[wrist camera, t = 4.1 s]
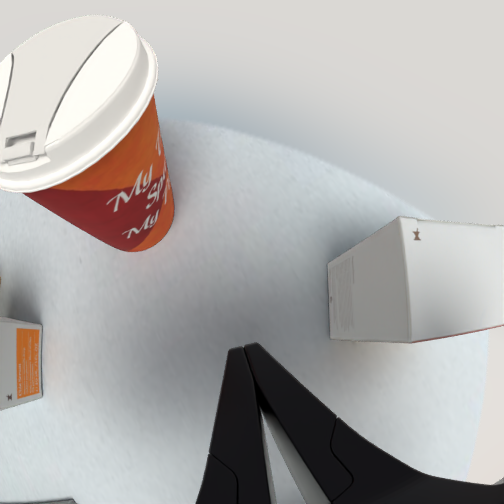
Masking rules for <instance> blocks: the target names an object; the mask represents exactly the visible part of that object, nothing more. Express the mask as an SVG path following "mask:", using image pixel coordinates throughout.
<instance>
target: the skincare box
mask: <svg viewBox="0 0 504 504" xmlns="http://www.w3.org/2000/svg"><path fill="white" fill-rule="evenodd" d="M41 340H42V325H40V324H35V323H30V322H25V321H20V320H16V319H11V318H7V317H1V316H0V411H1V410H4V409H8V408H11V407H15V406H18V405H21V404H25V403H28V402H31V401H34V400H37V399H41V398H42V389H41Z"/></svg>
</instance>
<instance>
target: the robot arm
mask: <svg viewBox="0 0 504 504" xmlns="http://www.w3.org/2000/svg"><path fill="white" fill-rule="evenodd" d="M261 412H262V414H263V417H264V419H265V421H266V423H267V425H268V427H269V430H270V432H271V434H272V436H273V438H274V440H275V442H276V444H277V446H278V448H279V450H280V452H281V454H282V456H283V459H284V461H285V463H286V465H287V467H288V469H289V471H290V473H291V475H292V477H293V478H294V480H295V482H296V484H297V486H298V488H299V490H300V492H301V494H302V496H303V498H304V500H305V502H306V504H504V478H502V479H501V480H499V481H498V482H496V483H495V484H493V485H484V484H477V483H470V482H463V481H457V480H451V479H445V478H440V477H435V476H431V475H427V474H425V473H422V472H420V471H418V470H415V469H414V468H412V467H410V466H408V465H406V464H405V463H403V462H401V461H400V460H398V459H396V458H395V457H393V456H391V455H390V454H388V453H386V452H385V451H383V450H382V449H380V448H378V447H377V446H375V445H374V444H372V443H371V442H369V441H368V440H366V439H365V438H364V437H362V436H361V435H359V434H358V433H357V432H356V431H354V430H353V429H352V428H351V427H350V426H348V425H347V424H346V423H345V422H344V421H343V420H341V419H340V418H339V417H338V418H337V415H336V414H334V413H333V412H332V411H331V410H330V409H329V408H328V407H327V406H325V405H324V404H323V403H322V402H321V401H320V400H319V399H318V398H317V397H315V396H314V395H313V394H312V393H311V392H310V391H309V390H308V389H307V388H306V387H304V386H303V385H302V384H301V383H300V382H299V381H298V380H297V379H296V378H295V377H294V376H293V375H292V374H290V373H289V372H288V371H287V370H286V369H285V368H284V367H283V366H282V365H281V364H280V363H279V362H278V361H277V360H276V359H275V358H274V357H273V356H272V355H270V354H269V353H268V352H267V351H266V350H265V349H264V348H263V347H262V346H261V345H260V344H259V343H257V342H254V343H250V344H247V345H245V346H244V348H243V347H242V346H239V347H235V348H231V349H229V351H228V355H227V360H226V365H225V370H224V375H223V380H222V386H221V391H220V396H219V401H218V406H217V412H216V417H215V422H214V427H213V432H212V438H211V443H210V448H209V453H210V454H208V458H207V463H206V468H205V472H204V477H203V481H202V485H201V488H200V491H199V494H198V498H197V501H196V503H195V504H277V501H276V496H275V490H274V484H273V478H272V472H271V466H270V461H269V455H268V449H267V443H266V437H265V431H264V424H263V419H262V414H261ZM336 418H337V419H336Z"/></svg>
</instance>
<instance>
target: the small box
mask: <svg viewBox="0 0 504 504" xmlns="http://www.w3.org/2000/svg"><path fill="white" fill-rule="evenodd" d="M327 267H328V287H329V315H330V339H333V340H348V341H365V342H393V343H416V342H423V341H429V340H435V339H441V338H447V337H452V336H458V335H463V334H468V333H473V332H478V331H482V330H487V329H491V328H496V327H500V326H504V226H503V225H482V224H471V223H460V222H448V221H436V220H427V219H418V218H413V217H405V216H399V217H397V218H396V219H394V220H393V221H392V222H390V223H388V224H387V225H386V226H384V227H383V228H381V229H380V230H378V231H377V232H375V233H374V234H372V235H371V236H369V237H367V238H366V239H364V240H363V241H361V242H360V243H358V244H357V245H355V246H354V247H352V248H350V249H349V250H348V251H346V252H344V253H343V254H341V255H340V256H338V257H337V258H335V259H334V260H332V261H331V262H329V263H328V264H327Z"/></svg>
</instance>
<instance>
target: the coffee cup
mask: <svg viewBox="0 0 504 504" xmlns="http://www.w3.org/2000/svg"><path fill="white" fill-rule="evenodd" d="M157 80H158V63H157V58H156V55H155V53H154V51H153V49H152V47H151V46H150V45H149V44H148V43H147V42H146V41H145V40H144V39H143V38H142V37H140V36H139V35H138V33H137V31H136V30H135V29H134V28H133V27H132V26H131V25H130V24H129V23H127V22H126V21H123V20H121V19H117V18H114V17H110V16H105V15H88V16H81V17H77V18H73V19H69V20H66V21H63V22H60V23H57V24H55V25H53V26H50V27H48V28H46V29H44V30H43V31H41V32H39V33H37V34H36V35H34V36H33V37H31V38H30V39H28V40H27V41H25V42H24V43H22V44H21V45H20V46H18V47H17V48H16V49H15V50H13V51H12V53H10V54H9V55H8V56H7V57H6V58H5V59H4V60H3V61H2V62H1V63H0V189H2V190H4V191H8V192H14V193H23V194H24V195H26V196H28V197H29V198H31V199H32V200H34V201H35V202H37V203H39V204H40V205H42V206H43V207H45V208H47V209H48V210H50V211H52V212H53V213H55V214H56V215H58V216H60V217H61V218H63V219H65V220H66V221H68V222H70V223H71V224H73V225H75V226H76V227H78V228H80V229H82V230H83V231H85V232H87V233H88V234H90V235H92V236H94V237H95V238H97V239H99V240H101V241H103V242H104V243H106V244H108V245H110V246H112V247H114V248H117V249H119V250H122V251H127V252H138V251H143V250H146V249H148V248H151V247H152V246H154V245H156V244H157V243H158V242H159V241H160V240H162V238H163V237H164V236H165V235H166V234H167V232H168V230H169V229H170V227H171V224H172V221H173V217H174V201H173V195H172V189H171V184H170V179H169V174H168V169H167V164H166V159H165V154H164V148H163V143H162V138H161V133H160V127H159V122H158V116H157V111H156V105H155V99H154V91H155V87H156V84H157Z"/></svg>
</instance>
